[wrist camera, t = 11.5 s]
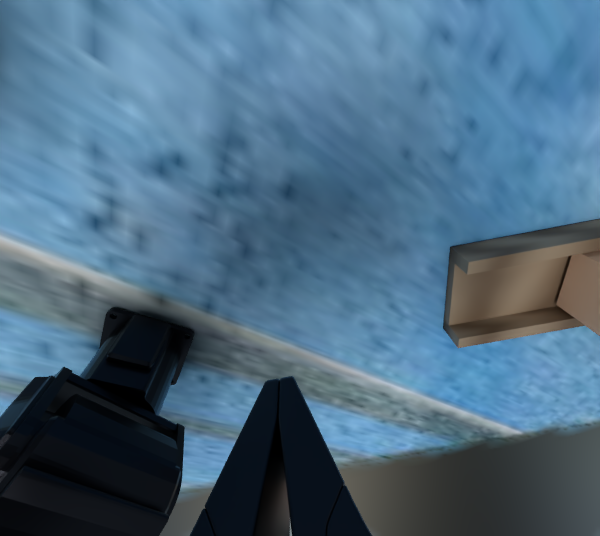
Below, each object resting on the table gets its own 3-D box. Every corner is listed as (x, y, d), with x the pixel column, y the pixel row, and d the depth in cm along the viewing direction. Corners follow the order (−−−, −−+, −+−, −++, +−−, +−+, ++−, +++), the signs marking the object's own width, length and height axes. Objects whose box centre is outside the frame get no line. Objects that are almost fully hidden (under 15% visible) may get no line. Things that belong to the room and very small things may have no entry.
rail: (443, 328, 26) (458, 348, 24) (450, 246, 22) (468, 262, 20) (640, 292, 25) (673, 309, 23) (684, 203, 21) (728, 214, 19)
